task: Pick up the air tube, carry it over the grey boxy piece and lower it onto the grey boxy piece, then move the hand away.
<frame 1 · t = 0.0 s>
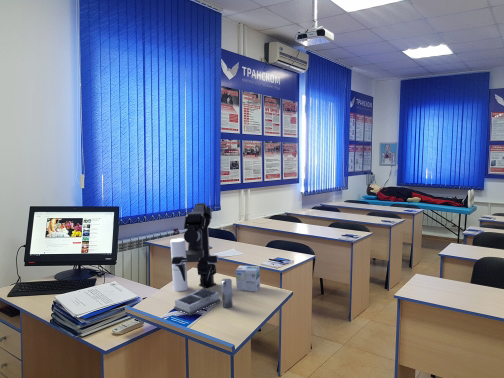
hand: (195, 280, 155), 15 cm above the table, tool pointing down, fingers open, 9 cm apart
cylindrical container: (180, 288, 188), on the table
air tube: (227, 306, 166), on the table
light bulb box: (248, 288, 186), on the table
grey boxy piece: (197, 305, 168), on the table
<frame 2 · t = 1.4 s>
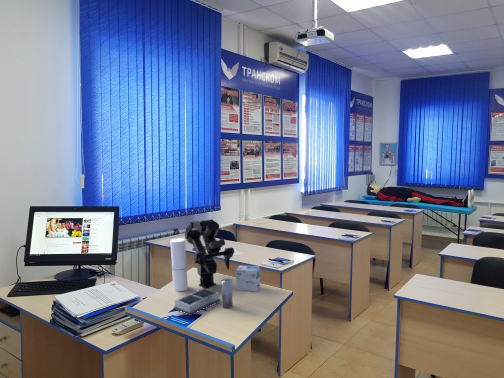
hand: (219, 271, 173), 13 cm above the table, tool tilted 45°, fingers open, 9 cm apart
nothing on the table moved.
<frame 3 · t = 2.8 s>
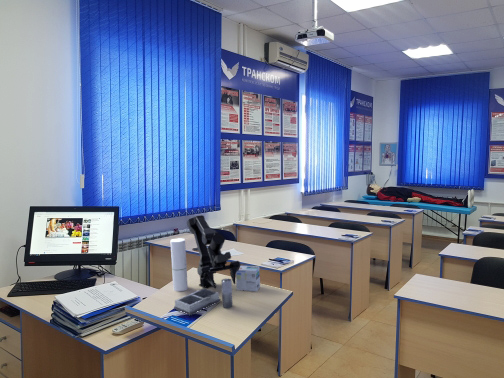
hand: (225, 285, 167), 9 cm above the table, tool tilted 45°, fingers open, 9 cm apart
nothing on the table moved.
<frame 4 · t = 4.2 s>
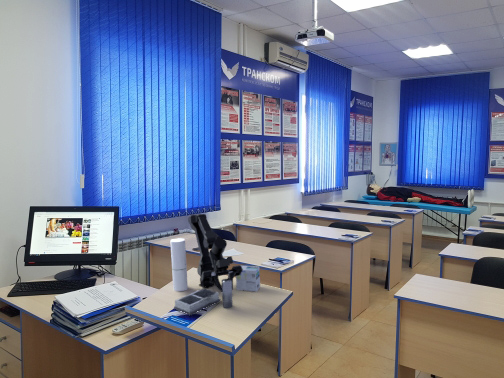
hand: (227, 290, 165), 7 cm above the table, tool tilted 45°, fingers closed on air tube, 4 cm apart
air tube: (227, 306, 166), on the table, touching gripper
everything else where it was.
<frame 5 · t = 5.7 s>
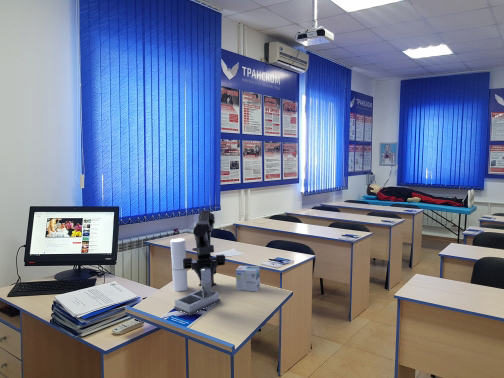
hand: (206, 279, 163), 13 cm above the table, tool tilted 45°, fingers closed on air tube, 4 cm apart
air tube: (206, 295, 164), point 6 cm above the table, touching gripper
everything else where it was.
when the fingers open (9 cm above the table, at t = 7.4 s): air tube drops 1 cm, resting on grey boxy piece.
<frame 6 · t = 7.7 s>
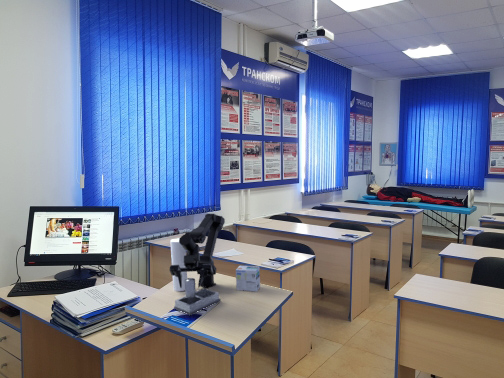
hand: (189, 287, 164), 10 cm above the table, tool tilted 45°, fingers open, 8 cm apart
air tube: (190, 305, 165), point 1 cm above the table, touching grey boxy piece
everything else where it was.
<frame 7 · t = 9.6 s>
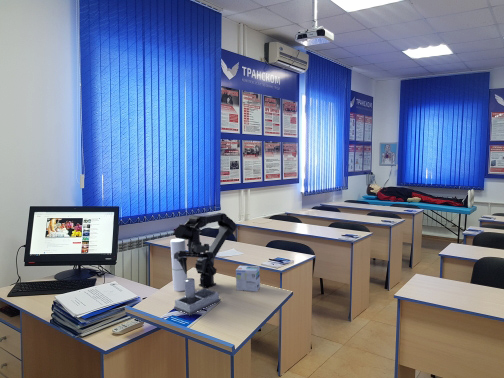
hand: (195, 273, 175), 12 cm above the table, tool tilted 25°, fingers open, 9 cm apart
nothing on the table moved.
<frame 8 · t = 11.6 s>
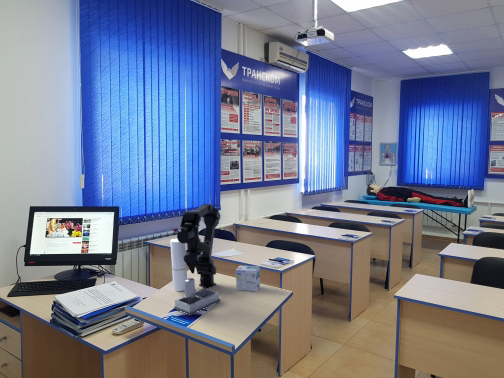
hand: (194, 270, 176), 13 cm above the table, tool pointing down, fingers open, 9 cm apart
nothing on the table moved.
at the end: air tube 0.2 cm from the target spot, point 1.0 cm above the table; air tube tilted 0°; the gripper is holding nothing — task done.
